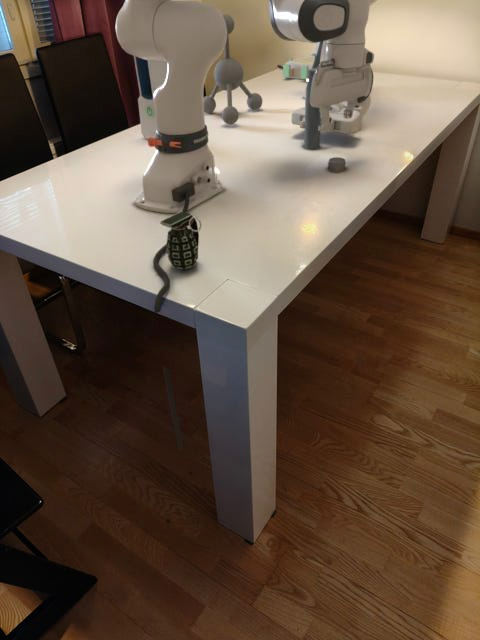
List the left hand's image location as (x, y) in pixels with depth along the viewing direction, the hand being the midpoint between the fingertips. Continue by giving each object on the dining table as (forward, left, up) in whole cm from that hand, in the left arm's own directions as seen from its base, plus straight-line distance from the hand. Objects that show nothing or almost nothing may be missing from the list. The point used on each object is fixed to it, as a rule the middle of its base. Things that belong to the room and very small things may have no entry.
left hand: (337, 121), depth 118 cm
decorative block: (+103, +43, -12) cm, 112 cm away
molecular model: (+38, +47, -12) cm, 61 cm away
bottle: (+15, +11, -12) cm, 22 cm away
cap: (+1, -1, -10) cm, 10 cm away
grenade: (-55, +12, -12) cm, 58 cm away
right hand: (+14, +11, -6) cm, 19 cm away
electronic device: (+8, +58, -12) cm, 60 cm away
